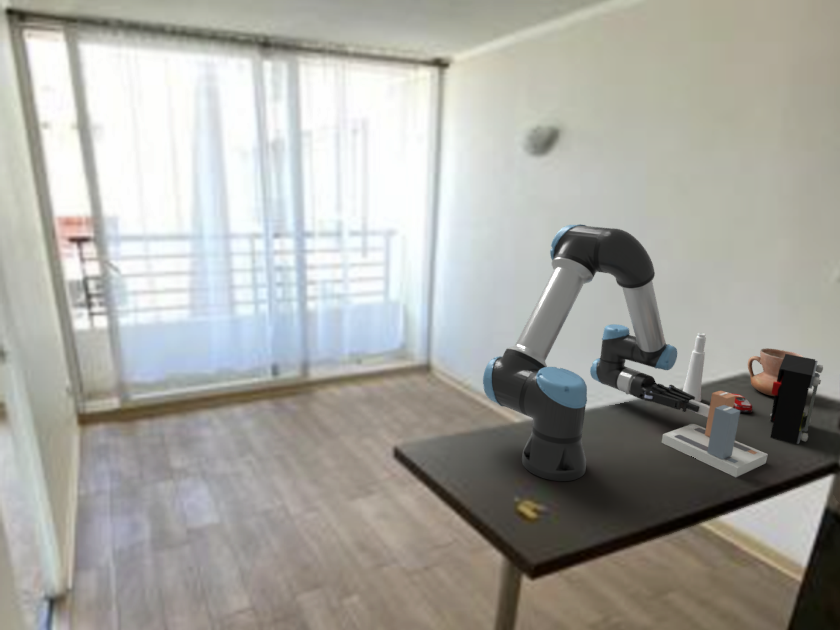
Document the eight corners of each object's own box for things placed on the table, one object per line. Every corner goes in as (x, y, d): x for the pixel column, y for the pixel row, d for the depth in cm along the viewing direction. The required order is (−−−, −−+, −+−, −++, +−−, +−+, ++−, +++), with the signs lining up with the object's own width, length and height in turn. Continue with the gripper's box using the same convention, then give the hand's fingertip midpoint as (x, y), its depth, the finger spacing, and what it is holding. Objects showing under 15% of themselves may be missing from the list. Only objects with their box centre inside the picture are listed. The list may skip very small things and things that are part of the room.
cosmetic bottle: (679, 399, 180) (690, 334, 174) (681, 393, 185) (692, 330, 179) (700, 404, 177) (711, 337, 171) (701, 398, 182) (712, 333, 177)
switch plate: (661, 442, 150) (662, 433, 149) (692, 431, 157) (693, 423, 157) (735, 477, 134) (737, 467, 133) (765, 463, 141) (767, 453, 140)
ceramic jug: (811, 397, 186) (819, 356, 183) (793, 405, 178) (801, 363, 175) (754, 381, 200) (760, 343, 197) (734, 388, 192) (741, 349, 189)
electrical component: (805, 446, 151) (821, 377, 146) (762, 435, 157) (776, 368, 152) (809, 425, 164) (824, 361, 159) (769, 415, 170) (782, 353, 165)
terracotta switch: (704, 434, 149) (712, 392, 146) (713, 431, 151) (720, 389, 148) (719, 441, 146) (727, 397, 143) (727, 437, 148) (735, 394, 145)
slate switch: (707, 452, 140) (715, 407, 137) (716, 448, 142) (724, 404, 139) (722, 459, 136) (731, 413, 133) (731, 455, 139) (740, 409, 136)
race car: (714, 397, 184) (716, 386, 183) (731, 398, 184) (733, 387, 183) (736, 414, 171) (738, 402, 170) (753, 415, 171) (756, 403, 170)
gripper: (648, 391, 173) (723, 421, 154) (621, 399, 166) (696, 431, 147) (652, 368, 171) (728, 395, 152) (624, 375, 164) (700, 404, 145)
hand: (712, 413), depth 149 cm, fingers closed
